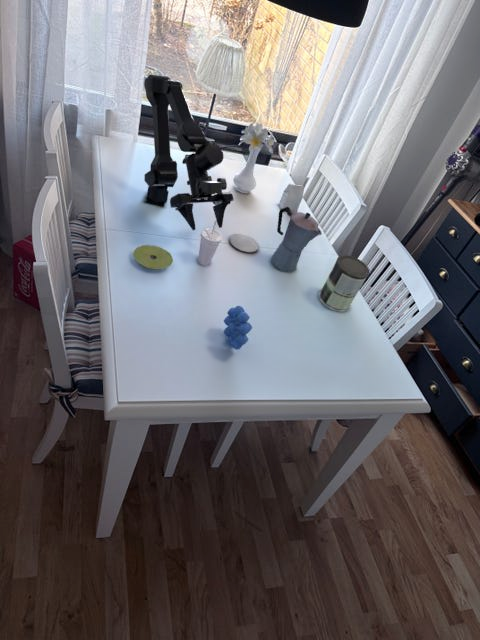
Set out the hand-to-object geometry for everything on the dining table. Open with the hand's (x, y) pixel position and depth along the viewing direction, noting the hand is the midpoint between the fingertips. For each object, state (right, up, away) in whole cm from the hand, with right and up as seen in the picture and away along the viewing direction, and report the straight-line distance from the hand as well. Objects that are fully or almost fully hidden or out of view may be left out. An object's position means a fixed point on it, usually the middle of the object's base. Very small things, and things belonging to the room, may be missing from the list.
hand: (207, 228), depth 140 cm
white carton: (+28, +17, +48) cm, 58 cm away
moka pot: (+23, -8, +17) cm, 30 cm away
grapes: (+8, -33, -18) cm, 38 cm away
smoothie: (-2, -9, +5) cm, 11 cm away
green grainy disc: (-16, -10, -2) cm, 19 cm away
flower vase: (+10, +25, +49) cm, 56 cm away
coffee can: (+39, -21, +10) cm, 45 cm away
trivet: (+11, -2, +19) cm, 22 cm away
